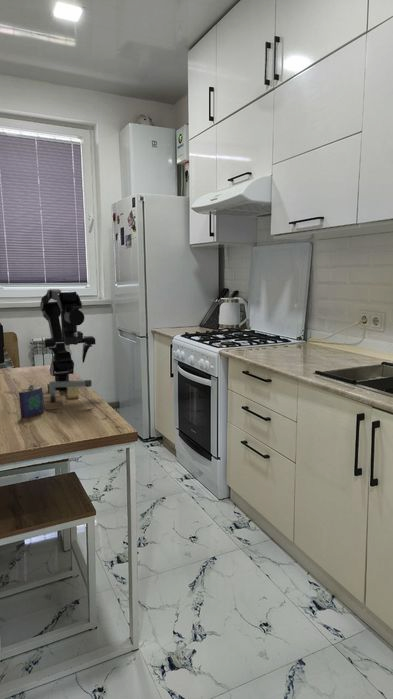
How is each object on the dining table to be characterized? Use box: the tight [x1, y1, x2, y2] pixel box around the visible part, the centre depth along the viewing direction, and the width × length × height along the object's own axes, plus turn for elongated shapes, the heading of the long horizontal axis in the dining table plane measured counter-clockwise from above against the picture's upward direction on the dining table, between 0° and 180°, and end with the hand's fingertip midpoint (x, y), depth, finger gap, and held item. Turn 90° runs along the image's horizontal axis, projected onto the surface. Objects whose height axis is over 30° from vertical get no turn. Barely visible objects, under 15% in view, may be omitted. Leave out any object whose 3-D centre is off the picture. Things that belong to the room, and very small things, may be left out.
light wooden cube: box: [66, 387, 80, 399], centre depth 178 cm, size 6×4×5 cm, turn 20°
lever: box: [48, 379, 93, 402], centre depth 163 cm, size 15×2×7 cm, turn 96°
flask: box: [18, 384, 45, 420], centre depth 153 cm, size 9×3×11 cm, turn 152°
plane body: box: [42, 383, 63, 411], centre depth 169 cm, size 19×6×5 cm, turn 20°
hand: (71, 363), depth 176 cm, fingers open, 9 cm apart
